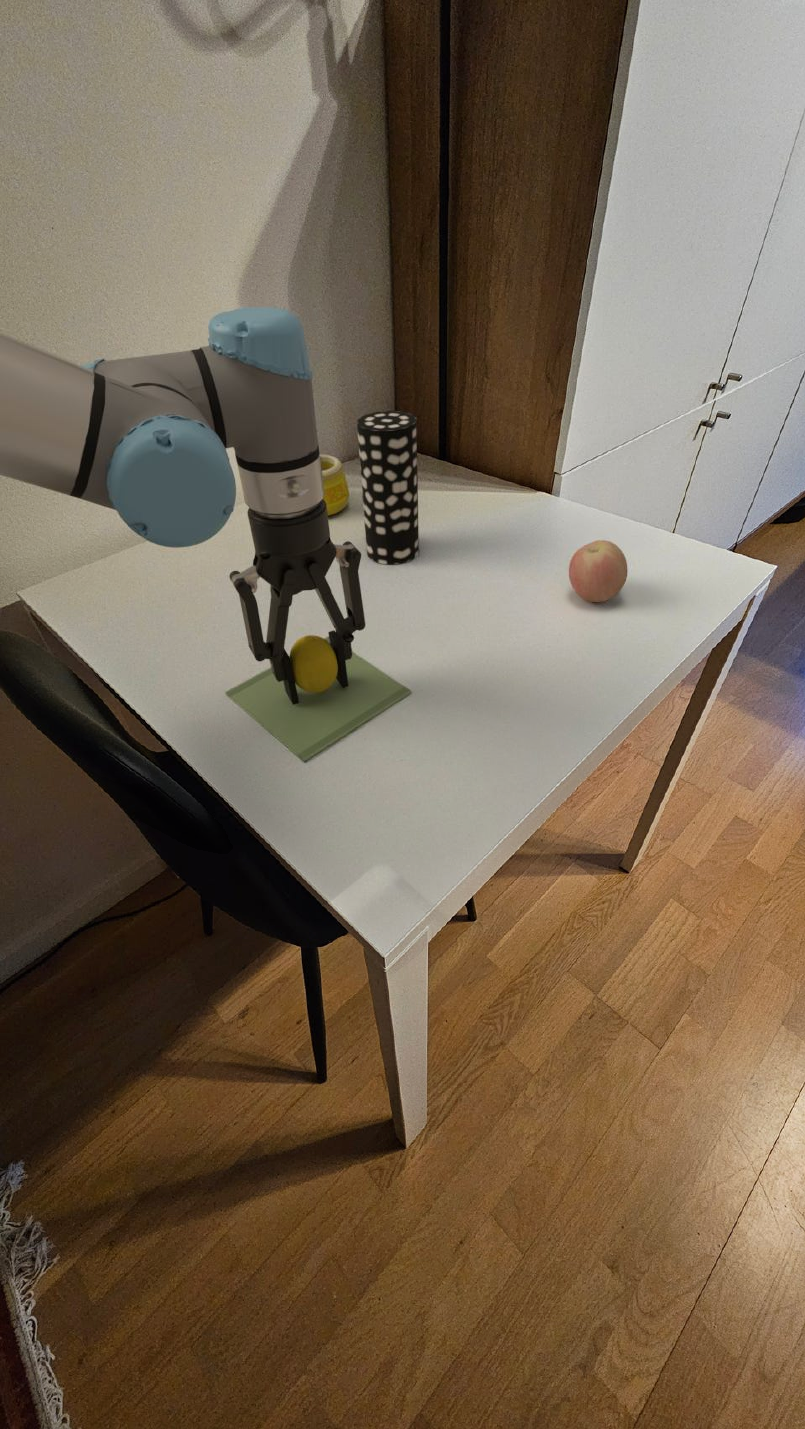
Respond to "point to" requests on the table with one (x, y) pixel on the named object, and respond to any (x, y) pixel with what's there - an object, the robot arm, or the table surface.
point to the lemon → (313, 663)
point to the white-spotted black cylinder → (389, 485)
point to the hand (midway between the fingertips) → (317, 688)
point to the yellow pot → (334, 484)
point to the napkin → (318, 706)
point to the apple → (598, 571)
